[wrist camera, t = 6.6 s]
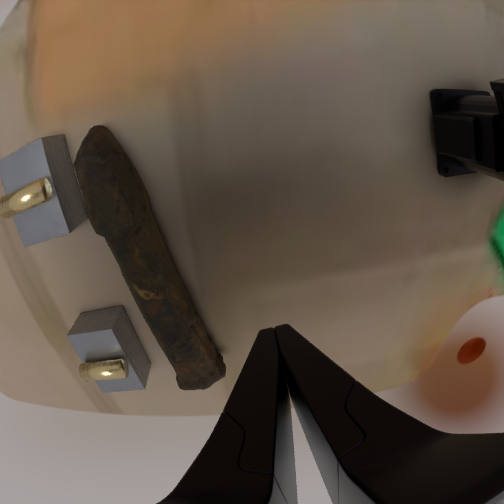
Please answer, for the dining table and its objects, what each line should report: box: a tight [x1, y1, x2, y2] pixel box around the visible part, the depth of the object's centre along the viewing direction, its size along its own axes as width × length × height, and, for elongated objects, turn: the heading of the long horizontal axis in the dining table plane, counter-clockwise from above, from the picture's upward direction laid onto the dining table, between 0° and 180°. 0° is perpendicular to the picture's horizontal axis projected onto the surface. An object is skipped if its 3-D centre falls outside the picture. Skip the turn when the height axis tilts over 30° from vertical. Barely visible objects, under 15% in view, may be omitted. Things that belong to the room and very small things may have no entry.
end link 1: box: [0, 134, 88, 248], centre depth 16 cm, size 4×6×4 cm, turn 12°
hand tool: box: [73, 125, 226, 390], centre depth 19 cm, size 19×4×5 cm, turn 14°
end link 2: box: [67, 305, 151, 392], centre depth 21 cm, size 4×6×4 cm, turn 12°
